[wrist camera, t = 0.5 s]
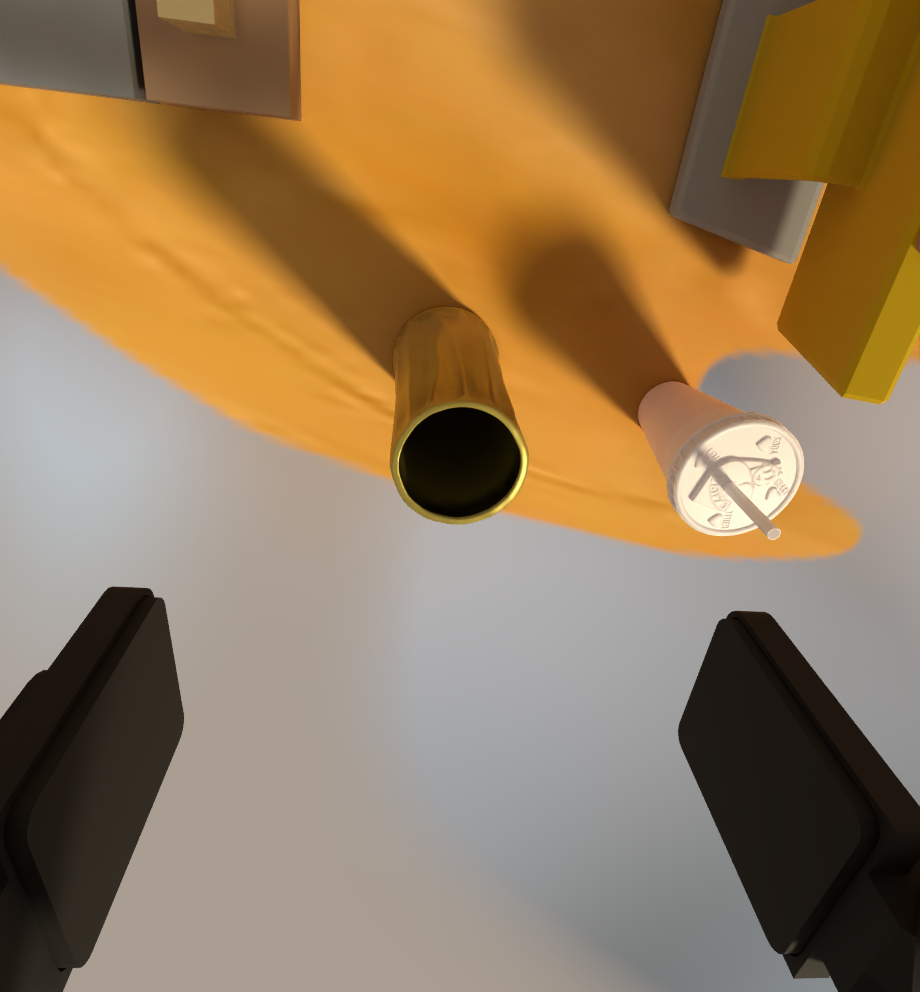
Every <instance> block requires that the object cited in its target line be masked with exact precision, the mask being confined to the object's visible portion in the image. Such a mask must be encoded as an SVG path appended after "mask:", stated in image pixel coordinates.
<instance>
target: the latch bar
mask: <svg viewBox="0 0 920 992" xmlns="http://www.w3.org/2000/svg"><path fill="white" fill-rule="evenodd" d="M156 1H157V11H158V17H159V18H161V19H163V20H165V21H167V22H168V23H170V24H172V25H174V26H175V27H177V28H179V29H181V30H183V31H184V32H188V33H195V34H203V35H210V36H218V37H225V38H233V39H236V24H235V6H234V0H156Z"/></svg>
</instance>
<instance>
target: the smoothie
mask: <svg viewBox="0 0 920 992" xmlns="http://www.w3.org/2000/svg"><path fill="white" fill-rule="evenodd" d="M638 420H639V423H640V425H641V428H642V430H643V432H644V434H645V436H646V438H647V440H648V442H649V444H650V446H651V449H652V451H653V453H654V455H655V457H656V459H657V461H658V463H659V465H660V467H661V470H662V472H663V474H664V476H665V478H666V481H667V491H668V497H669V500H670V502H671V504H672V506H673V508H674V510H675V511H676V512H677V513H678V514H679V515H680V516H681V517H682V518H683V520H684V521H685V522H686V523H687V524H688V525H690V526H691V527H692V528H694V529H696V530H697V531H700V532H702V533H705V534H709V535H715V536H731V535H737V534H742V533H745V532H748V531H751V530H753V529H756V528H759V529H760V530H761V531H762V532H763V533H764V534H765V535H766V536H767V537H768V538H769V539H771V540H774V539H776V538H778V537H779V536H780V533H781V532H780V530H779V529H778V528H777V527H776V526H775V525H774V524H773V523H772V522H771V521H770V520H771V519H773V518H774V517H775V516H776V515H778V514H779V513H780V512H781V511H782V510H783V509H784V508H785V507H786V506H787V504H788V503H789V502H790V501H791V499H792V498H793V496H794V495H795V493H796V491H797V489H798V487H799V485H800V482H801V479H802V475H803V470H804V457H803V452H802V450H801V447H800V444H799V442H798V441H797V439H796V438H795V437H794V436H793V434H792V433H790V432H789V431H788V430H787V429H786V428H785V427H784V425H783V424H781V423H780V422H778V421H776V420H775V419H773V418H772V417H770V416H766V415H762V414H758V413H753V412H752V413H746V412H744V411H741V410H739V409H736V408H735V407H732V406H730V405H728V404H726V403H724V402H722V401H720V400H718V399H715V398H713V397H711V396H709V395H707V394H705V393H703V392H701V391H699V390H696V389H694V388H692V387H690V386H688V385H686V384H684V383H681V382H676V381H670V382H665V383H662V384H659V385H657V386H655V387H654V388H652V389H651V390H650V391H649V392H648V393H647V394H646V395H645V396H644V398H643V399H642V401H641V403H640V406H639V409H638Z"/></svg>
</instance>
